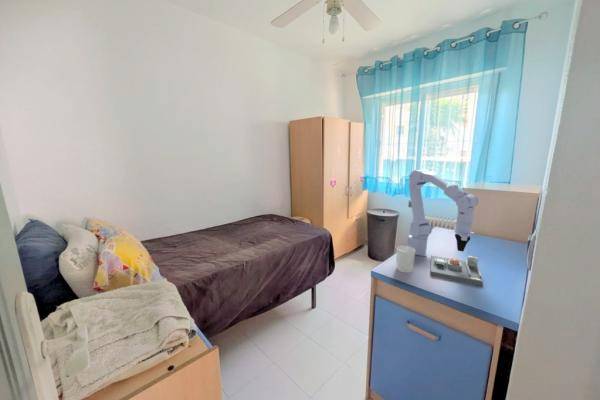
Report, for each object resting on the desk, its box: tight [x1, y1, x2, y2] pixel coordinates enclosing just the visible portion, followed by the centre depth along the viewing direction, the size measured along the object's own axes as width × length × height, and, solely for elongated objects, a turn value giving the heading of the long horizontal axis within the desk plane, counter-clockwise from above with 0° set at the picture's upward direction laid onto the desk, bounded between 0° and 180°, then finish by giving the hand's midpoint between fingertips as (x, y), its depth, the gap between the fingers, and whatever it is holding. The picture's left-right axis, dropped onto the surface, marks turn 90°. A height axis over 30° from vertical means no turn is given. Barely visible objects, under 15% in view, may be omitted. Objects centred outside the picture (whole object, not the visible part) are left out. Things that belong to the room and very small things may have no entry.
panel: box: [429, 255, 484, 287], centre depth 110 cm, size 19×18×4 cm
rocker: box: [436, 258, 445, 265], centre depth 112 cm, size 3×6×1 cm, turn 152°
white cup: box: [395, 245, 416, 274], centre depth 112 cm, size 8×8×10 cm
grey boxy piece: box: [466, 255, 479, 268], centre depth 109 cm, size 4×2×5 cm, turn 62°
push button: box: [450, 258, 459, 265], centre depth 110 cm, size 3×3×3 cm
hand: (460, 250), depth 110 cm, fingers closed
